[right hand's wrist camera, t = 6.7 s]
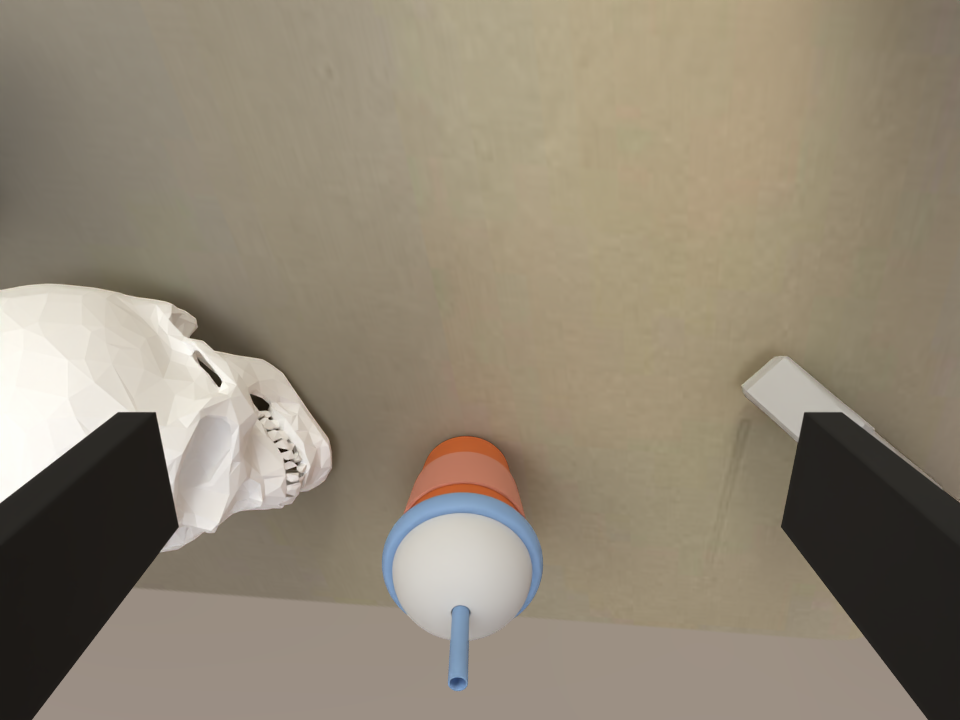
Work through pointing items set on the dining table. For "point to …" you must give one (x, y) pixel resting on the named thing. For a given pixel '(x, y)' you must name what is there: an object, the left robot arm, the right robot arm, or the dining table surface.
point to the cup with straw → (463, 549)
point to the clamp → (799, 399)
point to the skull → (150, 401)
